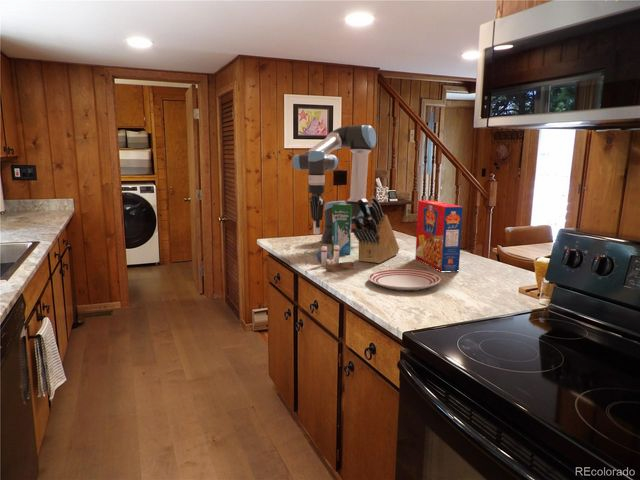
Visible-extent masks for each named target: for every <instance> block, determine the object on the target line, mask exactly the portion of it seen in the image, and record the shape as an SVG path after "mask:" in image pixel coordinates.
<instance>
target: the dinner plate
mask: <svg viewBox="0 0 640 480" xmlns="http://www.w3.org/2000/svg"><path fill="white" fill-rule="evenodd" d="M367 278H368V281H369V282H372V283H374V284H376V285H377V286H380V287H383V288H386V289H388V290H389V289H390V290H394V289H395V291H403V290H414V291H420V290H419V289H421V290H424V289H427V288H431V287H434V286H436V285H438V284H439V283H440V282H441V280H442V279H441V277H440V276H439V275H438V274H435V273H433V272H431V271H425V270H421V269H420V270H419V269H411V268H410V269H407V268H405V269H404V268H393V269H382V270H377V271H373V272H371V273H370V274H369V275H368V276H367Z"/></svg>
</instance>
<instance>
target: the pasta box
mask: <svg viewBox="0 0 640 480" xmlns="http://www.w3.org/2000/svg"><path fill="white" fill-rule="evenodd" d="M463 209H464V207H463V206H461V205H456V204H452V203H447V202H443V201H439V200H438V201H437V200H418V201H417V214H416V215H417V216H416V217H417V220H416V236H415V238H416V240H415V258H416V260H417V259H418V260H417V261H419V260H420V261H419V262H421V261H422V262H421V263H423V262H424V263H426V264H428V265H429V266H428V265H427V266H428V267H430V266H432V267H434V268H435V269H438V270H440V271H457V270H459V271H460V256H461V255H460V254H461V243H462V242H461V240H462V226H463V225H462V224H463V212H464V211H463ZM424 263H423V264H424ZM426 264H425V265H426ZM432 267H431V268H432ZM434 268H433V269H434ZM435 269H434V270H435Z"/></svg>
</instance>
